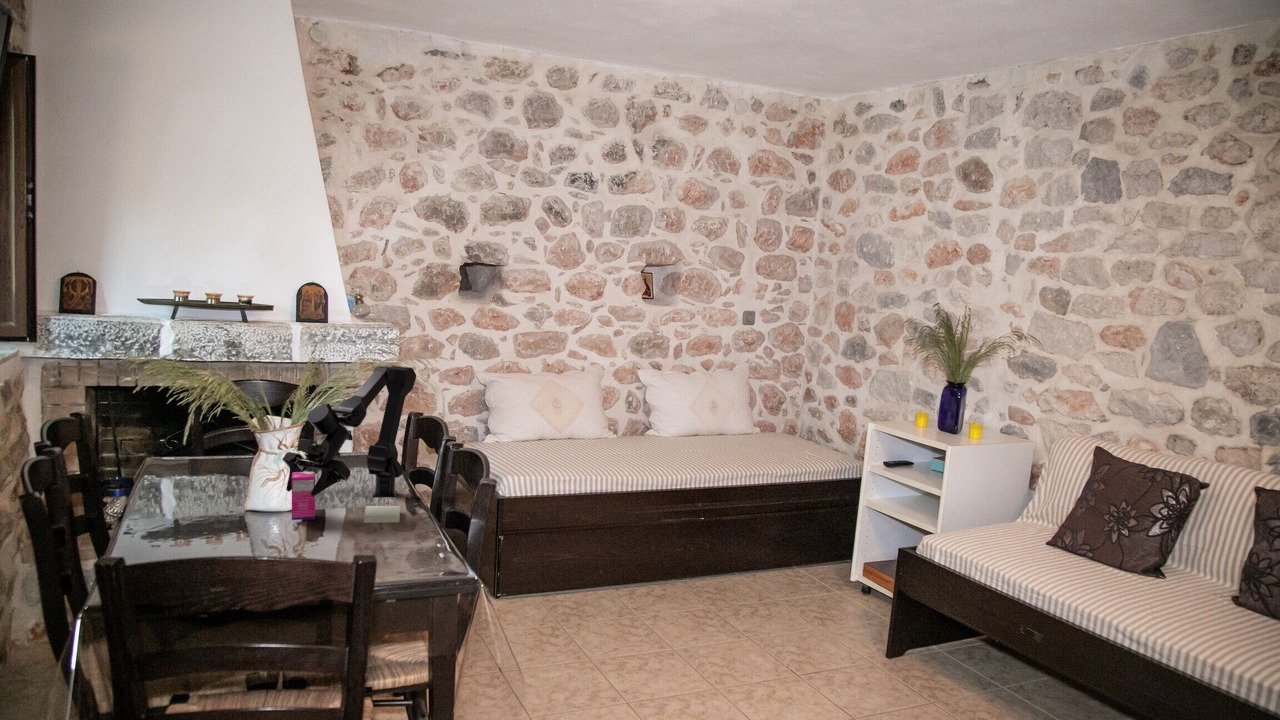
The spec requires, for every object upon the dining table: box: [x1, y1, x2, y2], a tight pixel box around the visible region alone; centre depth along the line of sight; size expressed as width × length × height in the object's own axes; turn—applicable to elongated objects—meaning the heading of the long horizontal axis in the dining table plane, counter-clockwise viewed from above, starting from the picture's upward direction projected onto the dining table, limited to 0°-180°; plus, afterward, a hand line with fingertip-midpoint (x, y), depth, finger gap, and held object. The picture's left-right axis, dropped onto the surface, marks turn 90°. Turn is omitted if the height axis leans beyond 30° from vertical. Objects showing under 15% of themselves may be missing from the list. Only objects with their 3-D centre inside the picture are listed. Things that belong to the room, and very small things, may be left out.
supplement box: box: [291, 470, 316, 521], centre depth 218 cm, size 6×6×12 cm
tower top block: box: [363, 505, 401, 524], centre depth 224 cm, size 9×9×2 cm
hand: (299, 493), depth 216 cm, fingers closed on supplement box, 8 cm apart
